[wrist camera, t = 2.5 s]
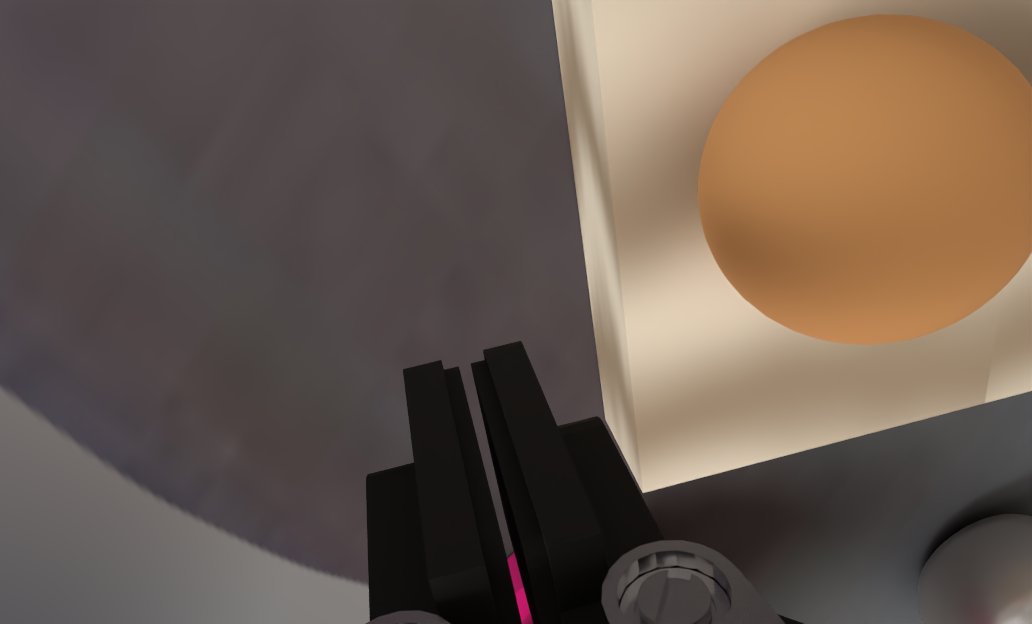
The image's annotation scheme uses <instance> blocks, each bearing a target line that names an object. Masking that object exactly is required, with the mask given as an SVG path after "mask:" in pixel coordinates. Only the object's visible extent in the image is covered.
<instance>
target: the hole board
mask: <svg viewBox="0 0 1032 624" xmlns="http://www.w3.org/2000/svg"><path fill="white" fill-rule="evenodd" d="M552 5H553V13H554V21H555V28H556V36H557V44H558V52H559V60H560V67H561V75H562V83H563V91H564V99H565V107H566V114H567V122H568V130H569V138H570V146H571V153H572V161H573V169H574V177H575V185H576V193H577V200H578V208H579V216H580V224H581V232H582V239H583V247H584V255H585V263H586V271H587V279H588V286H589V294H590V302H591V310H592V318H593V326H594V333H595V341H596V349H597V357H598V365H599V372H600V380H601V388H602V396H603V404H604V412H605V419H606V421H607V423H608V425H609V427H610V429H611V431H612V433H613V435H614V437H615V439H616V441H617V443H618V445H619V447H620V449H621V451H622V453H623V455H624V457H625V459H626V461H627V463H628V465H629V467H630V469H631V471H632V473H633V474H634V476H635V478H636V480H637V482H638V484H639V486H640V488H641V490H642V492H643V493H645V492H649V491H653V490H656V489H660V488H664V487H668V486H672V485H675V484H679V483H683V482H687V481H691V480H694V479H698V478H702V477H706V476H710V475H713V474H717V473H721V472H725V471H729V470H732V469H736V468H740V467H744V466H748V465H751V464H755V463H759V462H763V461H767V460H770V459H774V458H778V457H782V456H786V455H789V454H793V453H797V452H801V451H805V450H808V449H812V448H816V447H820V446H824V445H827V444H831V443H835V442H839V441H843V440H847V439H850V438H854V437H858V436H862V435H866V434H869V433H873V432H877V431H881V430H885V429H888V428H892V427H896V426H900V425H904V424H907V423H911V422H915V421H919V420H923V419H926V418H930V417H934V416H938V415H942V414H945V413H949V412H953V411H957V410H961V409H964V408H968V407H972V406H976V405H980V404H983V403H987V402H991V401H995V400H999V399H1002V398H1006V397H1010V396H1014V395H1018V394H1022V393H1025V392H1029V391H1032V253H1031V254H1030V256H1029V258H1028V259H1027V261H1026V262H1025V263H1024V265H1023V266H1022V267H1021V269H1020V270H1019V272H1018V273H1017V274H1016V275H1015V276H1014V277H1013V278H1012V280H1011V281H1010V282H1009V283H1008V284H1007V285H1006V286H1005V287H1004V288H1003V289H1002V290H1001V291H1000V292H999V293H998V294H996V295H995V296H994V297H993V298H992V299H991V300H989V301H988V302H987V303H986V304H984V305H983V306H982V307H981V308H979V309H978V310H976V311H975V312H973V313H972V314H970V315H969V316H967V317H965V318H963V319H962V320H960V321H958V322H956V323H954V324H952V325H950V326H948V327H945V328H943V329H941V330H938V331H935V332H933V333H930V334H927V335H924V336H921V337H918V338H914V339H910V340H905V341H900V342H894V343H886V344H874V345H859V344H844V343H835V342H830V341H825V340H820V339H817V338H813V337H810V336H807V335H804V334H801V333H798V332H796V331H793V330H791V329H789V328H787V327H785V326H783V325H781V324H779V323H777V322H775V321H774V320H772V319H770V318H768V317H766V316H765V315H764V314H763V313H761V312H760V311H759V310H758V309H756V308H755V307H754V306H753V305H751V304H750V303H749V302H748V301H746V300H745V299H744V298H743V297H742V296H741V295H740V294H739V293H738V291H737V290H736V289H735V288H734V287H733V286H732V285H731V283H730V282H729V281H728V280H727V278H726V277H725V276H724V274H723V273H722V271H721V269H720V268H719V266H718V265H717V263H716V261H715V259H714V257H713V255H712V253H711V250H710V248H709V246H708V243H707V241H706V239H705V235H704V231H703V227H702V224H701V218H700V212H699V204H698V177H699V170H700V163H701V158H702V154H703V150H704V147H705V143H706V139H707V137H708V134H709V132H710V129H711V127H712V124H713V122H714V120H715V118H716V116H717V115H718V113H719V111H720V109H721V107H722V105H723V104H724V103H725V101H726V100H727V98H728V97H729V95H730V94H731V92H732V91H733V90H734V88H735V87H736V86H737V85H738V84H739V83H740V81H741V80H742V79H743V78H744V77H745V76H746V75H747V74H748V73H749V72H750V71H751V70H752V69H753V68H754V67H755V66H756V65H757V64H759V63H760V62H761V61H762V60H763V59H764V58H765V57H767V56H768V55H769V54H771V53H772V52H773V51H775V50H776V49H777V48H779V47H780V46H782V45H784V44H785V43H787V42H789V41H791V40H792V39H794V38H796V37H797V36H800V35H802V34H804V33H807V32H809V31H811V30H814V29H816V28H819V27H821V26H823V25H826V24H829V23H833V22H836V21H840V20H844V19H848V18H855V17H862V16H870V15H877V14H896V15H911V16H918V17H924V18H929V19H934V20H937V21H940V22H944V23H947V24H950V25H952V26H955V27H958V28H961V29H963V30H966V31H967V32H969V33H971V34H973V35H974V36H976V37H978V38H980V39H981V40H983V41H985V42H986V43H988V44H990V45H991V46H993V47H995V48H996V49H997V50H998V51H999V52H1000V53H1001V54H1002V55H1004V56H1005V57H1006V58H1007V59H1008V60H1009V61H1010V62H1011V63H1012V64H1013V65H1014V66H1015V67H1017V68H1018V69H1019V71H1020V72H1021V73H1022V74H1023V76H1024V77H1025V78H1026V80H1027V81H1028V82H1029V84H1030V85H1031V87H1032V0H552Z"/></svg>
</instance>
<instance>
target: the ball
mask: <svg viewBox="0 0 1032 624" xmlns="http://www.w3.org/2000/svg"><path fill="white" fill-rule="evenodd" d="M698 204H699V212H700V218H701V224H702V227H703V231H704V235H705V239H706V241H707V243H708V246H709V248H710V250H711V253H712V255H713V257H714V259H715V261H716V263H717V265H718V266H719V268H720V269H721V271H722V273H723V274H724V276H725V277H726V278H727V280H728V281H729V282H730V283H731V285H732V286H733V287H734V288H735V289H736V290H737V291H738V293H739V294H740V295H741V296H742V297H743V298H744V299H745V300H746V301H748V302H749V303H750V304H751V305H753V306H754V307H755V308H756V309H758V310H759V311H760V312H761V313H763V314H764V315H765V316H766V317H768V318H770V319H772V320H774V321H775V322H777V323H779V324H781V325H783V326H785V327H787V328H789V329H791V330H793V331H796V332H798V333H801V334H804V335H807V336H810V337H813V338H817V339H820V340H825V341H830V342H835V343H844V344H859V345H874V344H886V343H894V342H900V341H905V340H910V339H914V338H918V337H921V336H924V335H927V334H930V333H933V332H935V331H938V330H941V329H943V328H945V327H948V326H950V325H952V324H954V323H956V322H958V321H960V320H962V319H963V318H965V317H967V316H969V315H970V314H972V313H973V312H975V311H976V310H978V309H979V308H981V307H982V306H983V305H984V304H986V303H987V302H988V301H989V300H991V299H992V298H993V297H994V296H995V295H996V294H998V293H999V292H1000V291H1001V290H1002V289H1003V288H1004V287H1005V286H1006V285H1007V284H1008V283H1009V282H1010V281H1011V280H1012V278H1013V277H1014V276H1015V275H1016V274H1017V273H1018V272H1019V270H1020V269H1021V267H1022V266H1023V265H1024V263H1025V262H1026V261H1027V259H1028V258H1029V256H1030V254H1031V253H1032V87H1031V85H1030V84H1029V82H1028V81H1027V80H1026V78H1025V77H1024V76H1023V74H1022V73H1021V72H1020V71H1019V69H1018V68H1017V67H1015V66H1014V65H1013V64H1012V63H1011V62H1010V61H1009V60H1008V59H1007V58H1006V57H1005V56H1004V55H1002V54H1001V53H1000V52H999V51H998V50H997V49H996V48H995V47H993V46H991V45H990V44H988V43H986V42H985V41H983V40H981V39H980V38H978V37H976V36H974V35H973V34H971V33H969V32H967V31H966V30H963V29H961V28H958V27H955V26H952V25H950V24H947V23H944V22H940V21H937V20H934V19H929V18H924V17H918V16H911V15H896V14H877V15H870V16H862V17H855V18H848V19H844V20H840V21H836V22H833V23H829V24H826V25H823V26H821V27H819V28H816V29H814V30H811V31H809V32H807V33H804V34H802V35H800V36H797V37H796V38H794V39H792V40H791V41H789V42H787V43H785V44H784V45H782V46H780V47H779V48H777V49H776V50H775V51H773V52H772V53H771V54H769V55H768V56H767V57H765V58H764V59H763V60H762V61H761V62H760V63H759V64H757V65H756V66H755V67H754V68H753V69H752V70H751V71H750V72H749V73H748V74H747V75H746V76H745V77H744V78H743V79H742V80H741V81H740V83H739V84H738V85H737V86H736V87H735V88H734V90H733V91H732V92H731V94H730V95H729V97H728V98H727V100H726V101H725V103H724V104H723V105H722V107H721V109H720V111H719V113H718V115H717V116H716V118H715V120H714V122H713V124H712V127H711V129H710V132H709V134H708V137H707V139H706V143H705V147H704V150H703V154H702V158H701V163H700V170H699V177H698Z"/></svg>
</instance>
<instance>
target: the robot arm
mask: <svg viewBox="0 0 1032 624" xmlns="http://www.w3.org/2000/svg"><path fill="white" fill-rule="evenodd" d="M483 353H484V359H485V360H483V361H479V362H475V363H471V367H472V372H473V377H474V381H475V386H476V390H477V395H478V399H479V403H480V408H481V412H482V417H483V421H484V426H485V430H486V435H487V439H488V444H489V448H490V452H491V457H492V461H493V466H494V470H495V475H496V479H497V484H498V488H499V493H500V497H501V501H502V506H503V510H504V515H505V519H506V523H507V527H508V531H509V535H510V539H511V542H512V546H513V550H514V554H515V557H516V561H517V565H518V569H519V573H520V576H521V580H522V584H523V588H524V591H525V595H526V599H527V603H528V606H529V610H530V614H531V618H532V621H533V624H803V623H801V622H798V621H795V620H792V619H789V618H786V617H784V616H781V615H778V614H777V613H776V612H775V611H774V610H773V609H772V608H771V606H770V605H769V604H768V603H767V602H766V601H765V599H764V598H763V597H762V596H761V595H760V594H759V593H758V591H757V590H756V589H755V588H754V587H753V586H752V584H751V583H750V582H749V581H748V580H747V579H746V577H745V576H744V575H743V574H742V573H741V572H740V570H739V569H738V568H737V567H736V566H735V565H734V564H733V563H732V562H730V561H729V560H728V559H727V558H726V557H725V556H723V555H722V554H721V553H719V552H717V551H715V550H713V549H711V548H709V547H706V546H704V545H702V544H698V543H693V542H688V541H683V540H664V538H663V536H662V534H661V533H660V531H659V529H658V527H657V525H656V523H655V521H654V519H653V517H652V515H651V513H650V511H649V510H648V508H647V506H646V504H645V502H644V500H643V498H642V496H641V494H640V492H639V490H638V488H637V487H636V485H635V483H634V481H633V479H632V477H631V475H630V473H629V471H628V469H627V467H626V465H625V464H624V462H623V460H622V458H621V456H620V454H619V452H618V450H617V448H616V446H615V444H614V442H613V441H612V439H611V437H610V435H609V433H608V431H607V429H606V427H605V425H604V423H603V422H602V420H601V419H600V418H599V417H597V416H596V417H592V418H588V419H585V420H581V421H577V422H573V423H569V424H565V425H561V426H557V424H556V422H555V419H554V417H553V415H552V412H551V410H550V408H549V405H548V403H547V401H546V398H545V396H544V394H543V391H542V389H541V386H540V384H539V382H538V379H537V377H536V375H535V372H534V370H533V368H532V365H531V363H530V360H529V358H528V356H527V353H526V351H525V349H524V346H523V344H522V342H521V341H518V342H514V343H510V344H506V345H502V346H498V347H494V348H489V349H485V350H483ZM403 374H404V382H405V391H406V399H407V407H408V416H409V424H410V432H411V440H412V449H413V457H414V463H411V464H407V465H403V466H399V467H395V468H391V469H387V470H383V471H379V472H375V473H371V474H368V475H367V477H366V499H367V535H368V571H369V606H370V622H368V623H366V624H522V621H521V617H520V613H519V608H518V604H517V599H516V595H515V591H514V586H513V582H512V578H511V574H510V569H509V565H508V561H507V557H506V553H505V549H504V545H503V541H502V537H501V533H500V529H499V525H498V521H497V517H496V513H495V509H494V505H493V501H492V497H491V493H490V489H489V485H488V481H487V477H486V473H485V469H484V465H483V461H482V457H481V453H480V449H479V445H478V441H477V437H476V433H475V429H474V425H473V421H472V417H471V414H470V410H469V406H468V402H467V398H466V394H465V390H464V386H463V382H462V378H461V374H460V370H459V366H458V367H454V368H450V369H446V370H444V369H443V365H442V361H441V360H440V361H436V362H431V363H427V364H423V365H419V366H415V367H411V368H407V369H403Z"/></svg>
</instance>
